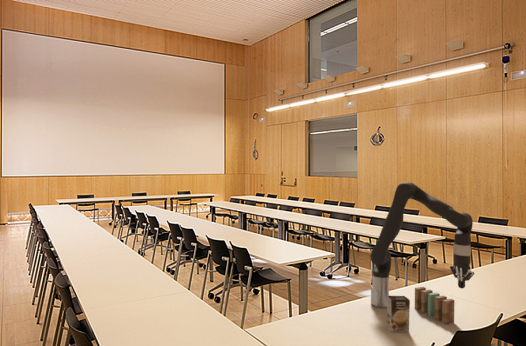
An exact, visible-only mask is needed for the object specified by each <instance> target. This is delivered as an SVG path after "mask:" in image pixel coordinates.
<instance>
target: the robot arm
mask: <svg viewBox="0 0 526 346" xmlns="http://www.w3.org/2000/svg"><path fill="white" fill-rule="evenodd" d="M409 200H414V201H417V202H419V203H420V204H423V205H424V206H425V207H426V208H427V209H428V210H429V211H430V212H432V213H433V214H436V215H438V216H439V217H441V218H443V219H445V221H447V222H448V223H450V224H451V225H453V226H454V227H456V228H457V229H456V231H455V233H454V240H453V241H454V245H453V262H454V263H453V265H451V266H450V267H449V268H450V271H451V273H452V275H453V276H454V278H456V279H457V286H458V288H459V289H465V287H466V281H467V282H468V281H470V280H471V278H472V277H473V276H474V275H475V272H474V271H472V270H471V262H472V261H471V259H472V258H471V255H472V249H471V248H472V247H471V235H472V234H471V233H472V230H473V224H474V223H473V218H472V216H471V215H470V213H467V212H461V213H460V212H458V211H457V210H455V209H454V208H453V206H452V205H450V204H448V203H447V202H445V201H441V199H438V198H436V197H434V196H432V195H430V194H429V193H427V192H426V191H424V190H423V189H422V188H421V187H419V186H418V185H416V184H415V183H413V182H411V181H410V182H407V181H406V182H401V183H399V184H397V187H396V188H395V192H394V196H393V199H392V203H391V205H390V208H389V211H388V213H387V215H386V217H385V220H384V223H383V225H382V228H381V231H380V234H379V236H378V239H377V241H376V243H375V245H374V247H373V248H372V250H371V253H370V261H371V263H372V264H373V265H375V267H374V268H373V270H372V287H370V305H373V306H374V307H375V308H387V298H388V296H390V273H391V269H392V268H391V267H392V255H391V252H390V250H389V248H390V246H391V244H392V243H393V241H395V239H396V238H397V237H398V235H399V233H400V231H401V229H402V226H403V223H404V211H405V207H406V205H407V203H408V201H409Z"/></svg>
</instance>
